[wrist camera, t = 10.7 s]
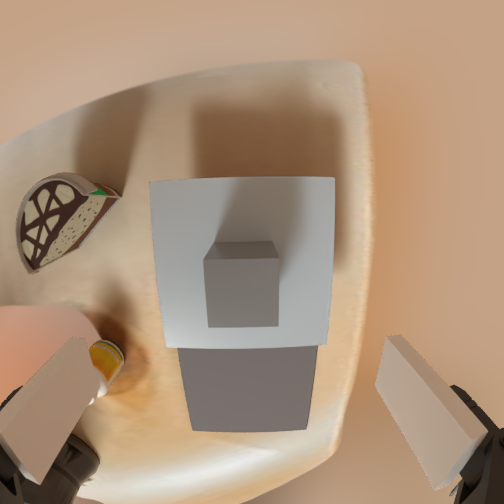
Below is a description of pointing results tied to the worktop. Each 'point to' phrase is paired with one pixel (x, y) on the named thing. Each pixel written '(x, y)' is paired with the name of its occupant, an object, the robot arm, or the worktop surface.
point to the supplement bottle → (105, 364)
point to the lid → (244, 260)
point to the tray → (248, 388)
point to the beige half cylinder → (59, 217)
